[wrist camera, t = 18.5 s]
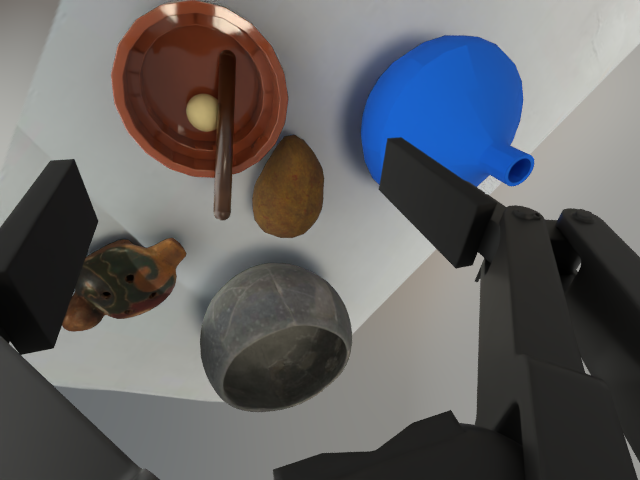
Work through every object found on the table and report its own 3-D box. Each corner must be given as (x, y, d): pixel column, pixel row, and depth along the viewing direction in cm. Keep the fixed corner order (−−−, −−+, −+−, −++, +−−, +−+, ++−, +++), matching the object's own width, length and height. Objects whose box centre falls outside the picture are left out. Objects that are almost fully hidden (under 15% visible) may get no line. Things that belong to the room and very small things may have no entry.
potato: (335, 152, 44) (362, 181, 38) (290, 225, 49) (307, 263, 42) (279, 122, 40) (299, 148, 33) (235, 205, 44) (244, 243, 37)
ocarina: (45, 272, 41) (21, 316, 35) (148, 200, 41) (144, 231, 35) (111, 315, 47) (101, 360, 41) (202, 252, 47) (206, 286, 41)
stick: (232, 45, 33) (225, 220, 33) (239, 55, 34) (233, 221, 34) (216, 46, 33) (210, 219, 33) (224, 55, 34) (217, 220, 34)
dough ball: (213, 110, 38) (189, 131, 36) (198, 81, 34) (172, 103, 33) (235, 121, 36) (212, 143, 35) (222, 92, 33) (196, 116, 32)
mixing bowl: (89, 88, 33) (73, 105, 28) (185, -43, 30) (186, -51, 25) (216, 178, 41) (221, 203, 36) (299, 84, 38) (317, 98, 33)
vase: (421, 190, 53) (515, 267, 38) (318, 156, 44) (387, 239, 29) (494, 67, 45) (648, 104, 30) (385, -3, 36) (527, 0, 21)
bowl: (259, 351, 62) (277, 434, 50) (165, 301, 49) (160, 396, 38) (347, 284, 59) (388, 354, 48) (271, 212, 46) (301, 285, 35)
